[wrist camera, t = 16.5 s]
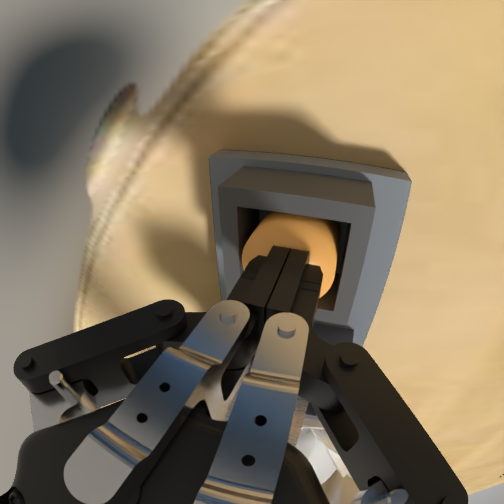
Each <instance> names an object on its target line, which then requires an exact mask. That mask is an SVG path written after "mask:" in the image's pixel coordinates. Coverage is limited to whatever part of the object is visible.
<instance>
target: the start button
mask: <svg viewBox="0 0 504 504" xmlns="http://www.w3.org/2000/svg"><path fill="white" fill-rule="evenodd" d="M340 236H341V231H340V225H339V222H338V221H335V220H328V219H322V218H316V217H309V216H303V215H296V214H289V213H282V212H275V211H268V212H267V213H266V214H265V216H264V217H263V219H262V220H261V222H260V223H259V225H258V226H257V228H256V229H255V230H254V232H253V233H252V235H251V236H250V238H249V239H248V241H247V242H246V244H245V246H244V249H243V253H242V265H243V269H244V271H245V268H246V266H247V265H248V263H249V261H251V260H252V259H253V258H255V257H256V256H258V255H261V256H268V254H269V252H270V250H271V248H272V246H273V245H275V246H280V247H286V248H291V249H298V250H304V251H309V252H310V256H309V264H312V265H317V266H320V267H321V270H322V273H323V280H322V286H321V291H320V297H319V298H321V297H322V296H323V295H324V294H325V293H326V292H327V291H328V290H329V289H330V287H331V285H332V283H333V281H334V277H335V271H336V265H337V258H338V251H339V244H340Z"/></svg>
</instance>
